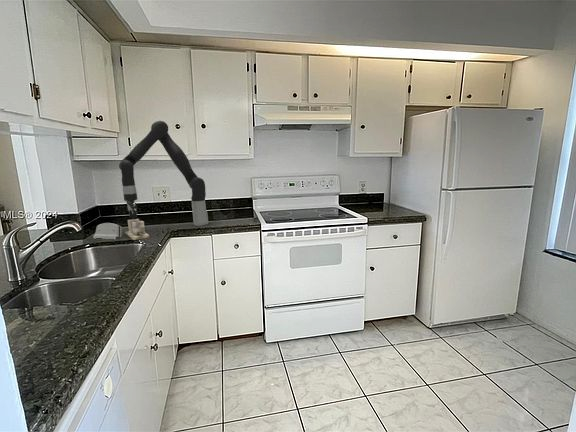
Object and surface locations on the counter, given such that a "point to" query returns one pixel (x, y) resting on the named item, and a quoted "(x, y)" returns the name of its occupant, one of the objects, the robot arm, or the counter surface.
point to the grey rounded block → (108, 231)
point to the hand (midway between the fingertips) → (133, 218)
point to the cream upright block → (131, 224)
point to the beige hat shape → (137, 231)
